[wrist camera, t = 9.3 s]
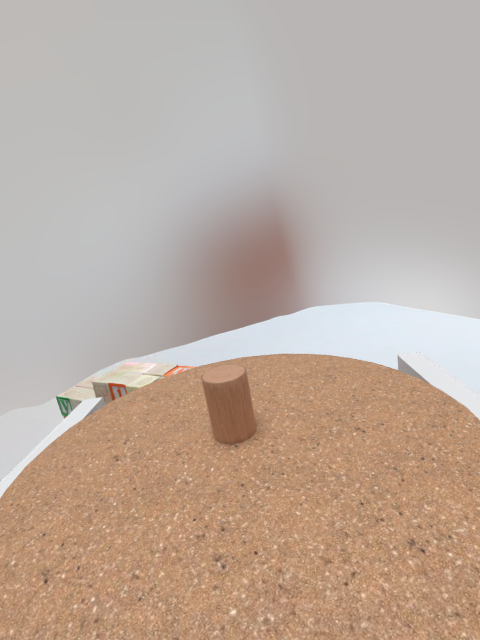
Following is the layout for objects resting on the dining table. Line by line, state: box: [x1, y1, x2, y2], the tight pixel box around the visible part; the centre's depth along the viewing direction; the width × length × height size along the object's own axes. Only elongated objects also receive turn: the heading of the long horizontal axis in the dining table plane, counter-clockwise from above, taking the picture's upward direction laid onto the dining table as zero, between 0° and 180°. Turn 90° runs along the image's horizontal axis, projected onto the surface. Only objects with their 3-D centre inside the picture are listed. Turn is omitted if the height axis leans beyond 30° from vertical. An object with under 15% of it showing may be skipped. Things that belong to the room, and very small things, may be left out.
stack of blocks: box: [56, 362, 196, 419], centre depth 45 cm, size 21×6×12 cm, turn 61°
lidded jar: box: [0, 354, 480, 640], centre depth 9 cm, size 11×11×9 cm
